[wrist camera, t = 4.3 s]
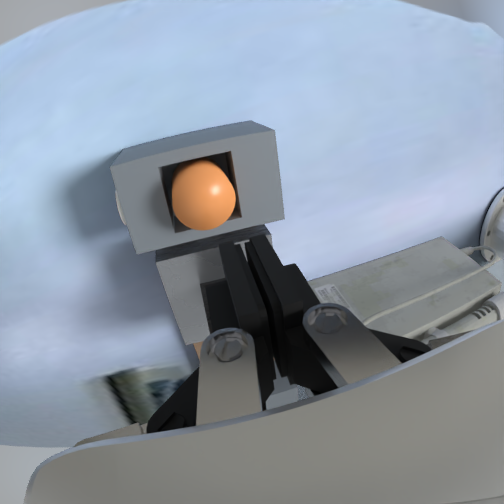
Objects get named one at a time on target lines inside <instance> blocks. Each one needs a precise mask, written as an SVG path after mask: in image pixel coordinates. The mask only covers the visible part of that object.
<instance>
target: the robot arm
mask: <svg viewBox="0 0 504 504" xmlns="http://www.w3.org/2000/svg"><path fill="white" fill-rule="evenodd" d="M244 245H245V251H246V257H247V260H246V257H245V255H244V252H243V250H242V247H241V245H240V244H236V245H234V242H233V241H231V242H226V243H222V244H218V247H219V252H220V256H221V261H222V265H223V270H224V274H225V279H226V280H223V281H218V282H214V283H210V284H205V289H206V295H207V301H208V307H209V313H210V319H211V325H212V330H213V333H212V334H210V335H209V336H208V337H207V338H206V339H205V340H204V342H203V343H202V346H201V351H200V365H199V367H198V368H197V369H196V370H195V372H194V373H193V374H192V375H191V376H190V377H189V378H188V379H187V380H186V381H185V382H184V383H183V384H182V385H181V386H180V387H179V388H178V389H177V391H176V392H175V393H174V394H173V395H172V396H171V397H170V398H169V399H168V400H167V401H166V402H165V403H164V404H163V405H162V406H161V407H160V408H159V409H158V410H157V411H156V412H155V413H154V414H153V416H152V417H151V418H150V420H149V421H148V423H147V424H144V425H140V424H139V423H136V424H133V425H130V426H127V427H124V428H120V429H117V430H114V431H111V432H108V433H104V434H101V435H98V436H94V437H91V438H87V439H84V440H82V441H80V442H78V443H77V444H76V445H75V446H74V447H72V448H69V449H67V450H64V451H62V452H60V453H58V454H55V455H53V456H51V457H50V458H48V459H46V460H45V461H44V462H42V463H41V464H40V465H39V466H38V467H37V468H36V469H35V471H34V472H33V474H32V476H31V478H30V480H29V483H28V486H27V490H26V495H25V499H24V504H504V319H502V320H498V321H495V322H492V323H490V324H487V325H485V326H482V327H480V328H478V329H476V330H471V331H467V332H463V333H459V334H455V335H450V336H446V337H442V338H437V339H433V340H429V342H428V344H425V343H423V342H420V341H418V340H414V339H410V338H406V337H402V336H397V335H393V334H389V333H385V332H381V331H377V330H373V329H369V328H367V327H366V326H365V325H364V324H363V323H362V322H361V321H360V320H359V319H358V318H357V317H356V316H355V315H354V314H353V313H352V312H351V311H350V310H349V309H347V308H346V307H344V306H342V305H339V304H336V303H320V301H319V299H318V298H317V296H316V295H315V293H314V292H313V290H312V288H311V287H310V285H309V284H308V282H307V280H306V279H305V277H304V276H303V274H302V273H301V271H300V270H299V268H298V266H297V265H296V264H290V265H286V266H283V265H282V263H281V261H280V260H279V258H278V256H277V254H276V253H275V251H274V249H273V247H272V246H271V244H270V242H269V240H268V239H267V237H266V235H265V234H262V235H257V236H253V237H249V242H245V243H244ZM480 246H488V247H491V248H493V249H494V250H495V251H496V253H497V256H498V257H497V260H496V262H498V261H500V260H501V259H503V260H504V189H503V190H502V191H500V193H499V194H498V195H497V196H496V198H495V199H494V201H493V202H492V204H491V206H490V208H489V210H488V212H487V215H486V217H485V220H484V223H483V226H482V231H481V237H480ZM481 254H482V256H483V257H484V258H485V259H486V260H487V261H489V262H491V261H492V260H493V259H494V254H493V253H492V252H491V251H489V250H487V249H483V250H481ZM274 360H275V363H276V365H277V368H278V371H279V373H280V376H281V378H283V377H286V376H287V378H288V380H289V383H290V385H293V384H297V385H300V386H303V387H305V391H306V393H307V395H308V397H309V398H307V399H304V400H300V401H297V402H294V403H290V404H287V405H283V406H280V407H276V408H272V409H268V410H267V404H266V401H267V399H268V398H269V396H270V395H271V394H272V392H273V391H274V382H273V380H275V379H277V378H276V371H275V364H274Z"/></svg>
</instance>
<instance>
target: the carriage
mask: <svg viewBox="0 0 504 504" xmlns="http://www.w3.org/2000/svg"><path fill="white" fill-rule="evenodd" d="M262 234H265V235H266V237H267V239H268V240H269V242H270V244H271V246H272V238H271V234H270V232H269V231H268V229H267V228H266V226H265V225H264V224H261V225H257V226H252V227H248V228H244V229H240V230H235V231H231V232H227V233H223V234H219V235H214V236H210V237H206V238H202V239H198V240H194V241H190V242H186V243H182V244H178V245H174V246H170V247H166V248H162V249H158V250H156V265H157V268H158V271H159V274H160V277H161V280H162V283H163V286H164V289H165V291H166V294H167V297H168V300H169V303H170V305H171V308H172V311H173V313H174V316H175V319H176V321H177V324H178V327H179V329H180V332H181V334H182V337H183V340H184V342H185V345H189V344H193V343H198V342H202V341H204V340H205V339H206V338H207V337H208V336H209V335H210V334H212V333H213V330H212V325H211V319H210V313H209V307H208V301H207V295H206V289H205V284H210V283H214V282H218V281H223V280H226V279H225V274H224V270H223V265H222V261H221V256H220V252H219V247H218V244H222V243H226V242H231V241H233V242H234V245H236V244H240V245H241V247H242V250H243V252H244V255H245V257H246V251H245V245H244V243H245V242H249V237H253V236H257V235H262ZM272 247H273V246H272ZM246 260H247V257H246Z"/></svg>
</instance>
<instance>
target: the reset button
mask: <svg viewBox="0 0 504 504" xmlns="http://www.w3.org/2000/svg"><path fill="white" fill-rule="evenodd" d="M235 201H236V197H235V191H234V188H233V186H232V184H231V183H230V181H229V180H228V178H227V177H226V175H225V174H224V172H223V171H222V169H221V167H220V166H219V165H218V164H217V163H216V162H215V161H214V160H212V159H210V158H208V157H200V158H195V159H191V160H187V161H183V162H181V163H180V164H179V165H178V166H177V168H176V169H175V171H174V173H173V176H172V205H173V210H174V213H175V215H176V217H177V218H178V219H179V221H180V222H181V223H183V224H184V225H185V226H187V227H189V228H191V229H194V230H210V229H214V228H216V227H218V226H220V225H222V224H223V223H224V222H225V221H226V220H227V219H228V218H229V217H230V215H231V214H232V212H233V210H234V207H235Z"/></svg>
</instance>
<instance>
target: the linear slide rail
mask: <svg viewBox="0 0 504 504" xmlns="http://www.w3.org/2000/svg"><path fill="white" fill-rule="evenodd" d="M200 157H208V158H210V159H212V160H214V161H215V162H216V163H217V164H218V165H219V166H220V167H221V169H222V171H223V172H224V174H225V175H226V177H227V178H228V180H229V181H230V183H231V184H232V186H233V188H234V191H235V197H236V201H235V207H234V210H233V212H232V214H231V215H230V217H229V218H228V219H227V220H226V221H225V222H224V223H223V224H222V225H220V226H218V227H216V228H214V229H210V230H194V229H191V228H189V227H187V226H185V225H184V224H183V223H181V222H180V221H179V219H178V218H177V217H176V215H175V213H174V210H173V205H172V176H173V173H174V171H175V169H176V168H177V166H178V165H179V164H180V163H181V162H183V161H187V160H191V159H195V158H200ZM110 170H111V174H112V177H113V181H114V185H115V188H116V191H115V195H116V203H117V208H118V211H119V215H120V217H121V220H122V222H123V223H124V224H125V225H127V227H128V230H129V233H130V236H131V239H132V242H133V245H134V248H135V251H136V254H137V255H138V254H142V253H146V252H150V251H154V250H158V249H162V248H166V247H170V246H174V245H178V244H182V243H186V242H190V241H194V240H198V239H202V238H206V237H210V236H214V235H219V234H223V233H227V232H231V231H235V230H240V229H244V228H248V227H252V226H257V225H261V224H265V223H270V222H274V221H278V220H283V219H285V218H284V208H283V198H282V189H281V179H280V170H279V162H278V153H277V144H276V136H275V130H273V129H271V128H268V127H266V126H263V125H261V124H258V123H256V122H253V121H245V122H239V123H234V124H228V125H223V126H217V127H212V128H207V129H202V130H198V131H193V132H188V133H184V134H180V135H175V136H171V137H167V138H163V139H159V140H155V141H151V142H147V143H143V144H140V145H136V146H132V147H129V148H125V149H123V150H122V151H121V153H120V154H119V155H118V157H117V158H116V159H115V161H114V162H113V163H112V165H111V166H110ZM274 364H275V371H276V378H277V379H275V380H273V382H274V391H273V392H272V394H271V395H270V396H269V398H268V399H267V401H266V404H267V410H268V409H272V408H276V407H280V406H283V405H287V404H290V403H294V402H297V401H298V387H297V385H296V384H293V385H290V383H289V380H288V378H287V376H286V377H283V378H281V376H280V373H279V371H278V368H277V365H276V363H275V360H274Z"/></svg>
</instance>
